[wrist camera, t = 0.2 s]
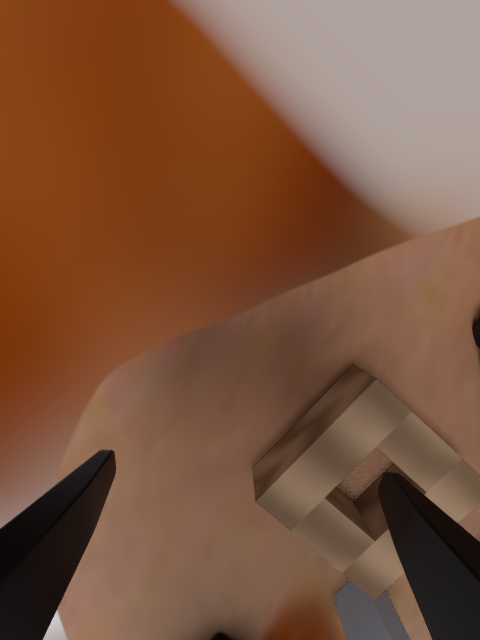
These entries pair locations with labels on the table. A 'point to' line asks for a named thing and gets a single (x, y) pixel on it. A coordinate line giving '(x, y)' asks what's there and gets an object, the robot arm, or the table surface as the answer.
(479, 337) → the miniature car
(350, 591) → the peg
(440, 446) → the socket block
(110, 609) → the table surface
